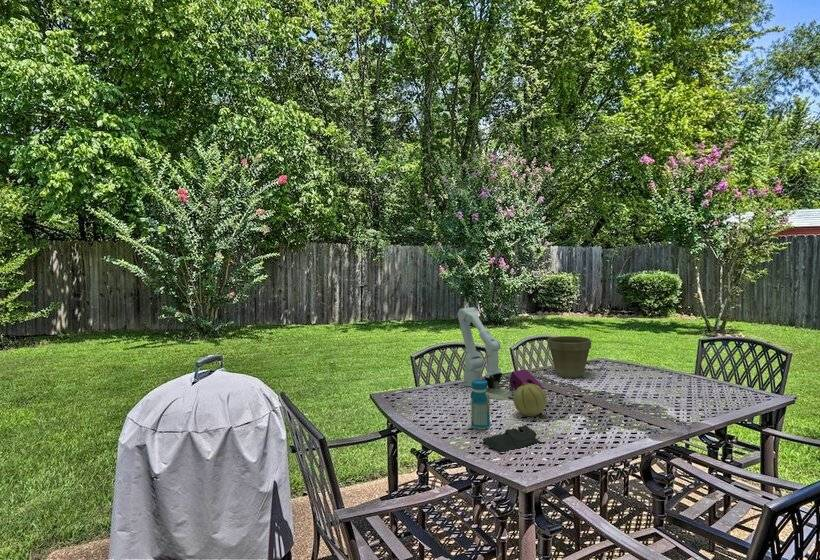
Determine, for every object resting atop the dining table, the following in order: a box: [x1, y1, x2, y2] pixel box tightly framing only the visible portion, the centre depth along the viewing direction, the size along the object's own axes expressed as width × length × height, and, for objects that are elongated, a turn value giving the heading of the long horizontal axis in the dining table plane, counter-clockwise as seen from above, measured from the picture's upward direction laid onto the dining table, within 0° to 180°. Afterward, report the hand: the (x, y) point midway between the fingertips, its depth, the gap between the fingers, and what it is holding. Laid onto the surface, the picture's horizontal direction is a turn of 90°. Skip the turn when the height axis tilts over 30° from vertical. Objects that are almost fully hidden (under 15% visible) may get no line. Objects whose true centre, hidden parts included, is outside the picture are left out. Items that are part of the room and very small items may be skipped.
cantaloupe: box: [513, 383, 548, 417], centre depth 225 cm, size 15×15×15 cm
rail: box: [470, 386, 511, 401], centre depth 258 cm, size 18×9×6 cm, turn 55°
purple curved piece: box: [509, 368, 544, 391], centre depth 266 cm, size 9×8×18 cm
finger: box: [493, 381, 500, 389], centre depth 266 cm, size 5×4×5 cm
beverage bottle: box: [469, 378, 491, 430], centre depth 213 cm, size 8×8×20 cm
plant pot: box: [547, 335, 592, 379], centre depth 292 cm, size 25×25×22 cm
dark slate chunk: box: [482, 424, 541, 453], centre depth 195 cm, size 15×22×5 cm
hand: (493, 387), depth 265 cm, fingers open, 7 cm apart
